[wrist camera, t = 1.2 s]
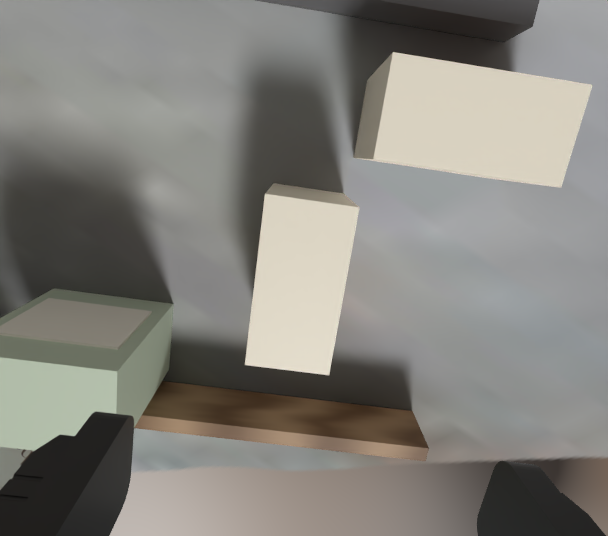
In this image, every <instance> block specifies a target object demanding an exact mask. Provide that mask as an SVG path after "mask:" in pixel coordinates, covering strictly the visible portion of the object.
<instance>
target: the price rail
mask: <svg viewBox="0 0 608 536" xmlns="http://www.w3.org/2000/svg"><path fill="white" fill-rule="evenodd" d="M257 1H263V2H269V3H275V4H281V5H287V6H293V7H299V8H305V9H311V10H317V11H323V12H329V13H335V14H340V15H346V16H352V17H358V18H364V19H370V20H376V21H382V22H388V23H394V24H400V25H406V26H412V27H417V28H423V29H429V30H435V31H441V32H447V33H453V34H459V35H465V36H471V37H477V38H483V39H489V40H495V41H500V42H505V41H507V40H509V39H511V38H513V37H514V36H516V35H518V34H520V33H522V32H524V31H525V30H527V29H529V28H531V27H533V23H534V19H535V15H536V11H537V7H538V4H539V0H257Z"/></svg>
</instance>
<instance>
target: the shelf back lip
mask: <svg viewBox="0 0 608 536" xmlns="http://www.w3.org/2000/svg"><path fill="white" fill-rule="evenodd" d="M134 428H139V429H147V430H156V431H165V432H174V433H182V434H191V435H200V436H209V437H217V438H226V439H235V440H244V441H252V442H261V443H270V444H279V445H287V446H296V447H305V448H314V449H322V450H331V451H340V452H349V453H357V454H366V455H375V456H384V457H392V458H401V459H410V460H419V461H426V457H427V454H428V450H429V448H428V445H427V443H426V441H425V439H424V436H423V434H422V432H421V430H420V427H419V425H418V423H417V420H416V418H415V416H414V414H413V411H408V410H399V409H391V408H383V407H375V406H366V405H358V404H350V403H341V402H333V401H325V400H316V399H308V398H300V397H291V396H283V395H275V394H266V393H258V392H250V391H242V390H233V389H225V388H217V387H208V386H200V385H192V384H183V383H175V382H167V381H162V382H161V384H160V385H159V387H158V389H157V390H156V392H155V394H154V395H153V397H152V399H151V400H150V402H149V404H148V405H147V407H146V409H145V410H144V412H143V414H142V415H141V417H140V419H139V420H138V422H137V424H136V425H135V427H134Z"/></svg>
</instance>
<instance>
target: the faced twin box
mask: <svg viewBox="0 0 608 536" xmlns="http://www.w3.org/2000/svg"><path fill="white" fill-rule="evenodd" d="M591 89H592V85H589V84H583V83H577V82H571V81H565V80H559V79H553V78H547V77H541V76H535V75H529V74H523V73H517V72H511V71H505V70H499V69H493V68H487V67H480V66H474V65H468V64H462V63H456V62H450V61H444V60H438V59H432V58H426V57H420V56H414V55H408V54H402V53H396V52H393V53H392V54H391V55H390V56H389V57H388V58H387V59H386V60H385V61H384V62H383V63H382V65H381V66H380V67H379V68H378V69H377V70H376V71H375V72H374V73H373V74H372V75H371V76H370V78H369V79H368V80H367V84H366V90H365V95H364V101H363V107H362V113H361V119H360V125H359V130H358V136H357V142H356V148H355V154H354V158H358V159H364V160H371V161H378V162H384V163H391V164H398V165H404V166H411V167H417V168H424V169H431V170H437V171H444V172H450V173H457V174H464V175H470V176H477V177H484V178H490V179H497V180H505V181H513V182H521V183H529V184H537V185H545V186H553V187H560V188H561V186H562V183H563V180H564V176H565V173H566V170H567V167H568V163H569V160H570V157H571V154H572V150H573V147H574V144H575V141H576V137H577V134H578V131H579V128H580V124H581V121H582V118H583V115H584V111H585V108H586V105H587V102H588V98H589V95H590V92H591Z"/></svg>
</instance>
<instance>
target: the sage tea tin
mask: <svg viewBox="0 0 608 536" xmlns="http://www.w3.org/2000/svg"><path fill="white" fill-rule="evenodd" d="M172 320H173V304H170V303H162V302H155V301H147V300H139V299H131V298H124V297H116V296H108V295H101V294H93V293H85V292H78V291H70V290H62V289H52V290H50V291H48V292H47V293H45V294H43V295H41V296H39V297H37V298H36V299H34V300H32V301H30V302H28V303H27V304H25V305H23V306H21V307H19V308H17V309H16V310H14V311H12V312H10V313H8V314H7V315H5V316H3V317H1V318H0V447H6V448H15V449H25V450H34V451H35V450H37V449H38V448H40V447H41V446H43V445H44V444H46V443H47V442H49V441H50V440H52V439H54V438H55V437H57V436H58V435H69V436H75V435H76V434H77V433H78V431H79V430H80V429H81V427H82V426H83V425H84V423H85V422H86V421H87V419H88V418H89V417H90V416H91V414H92V413H94V412H105V413H114V414H122V415H131V416H133V418H134V427H135V425H136V424H137V422H138V420H139V419H140V417H141V415H142V414H143V412H144V410H145V409H146V407H147V405H148V404H149V402H150V400H151V399H152V397H153V395H154V394H155V392H156V390H157V389H158V387H159V385H160V384H161V382H162V380H163V379H164V377H165V375H166V374H167V372H168V370H169V367H170V351H171V335H172Z"/></svg>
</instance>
